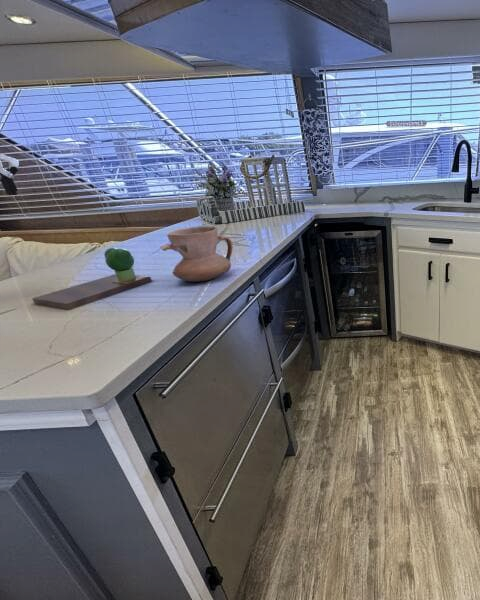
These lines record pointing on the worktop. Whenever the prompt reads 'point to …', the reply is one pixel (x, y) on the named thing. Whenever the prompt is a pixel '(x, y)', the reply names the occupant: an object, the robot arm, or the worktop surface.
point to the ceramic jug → (199, 253)
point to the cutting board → (89, 292)
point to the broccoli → (120, 263)
